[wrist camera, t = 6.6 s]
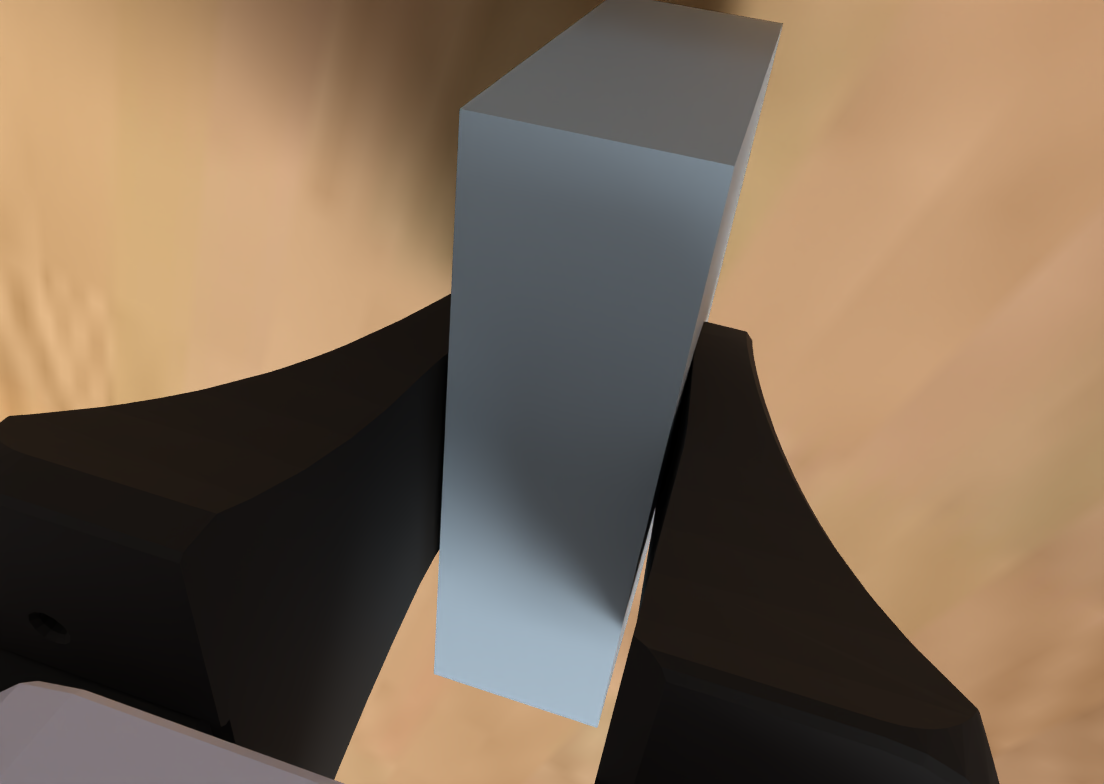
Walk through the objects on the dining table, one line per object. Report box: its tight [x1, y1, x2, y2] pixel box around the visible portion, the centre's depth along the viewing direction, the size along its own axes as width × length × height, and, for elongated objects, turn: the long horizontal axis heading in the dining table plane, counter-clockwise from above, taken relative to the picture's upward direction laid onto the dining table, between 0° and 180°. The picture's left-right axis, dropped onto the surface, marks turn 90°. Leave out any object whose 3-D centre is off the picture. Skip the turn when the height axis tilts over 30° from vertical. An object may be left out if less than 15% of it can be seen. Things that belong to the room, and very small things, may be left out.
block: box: [434, 0, 783, 728], centre depth 12 cm, size 2×8×6 cm, turn 174°
